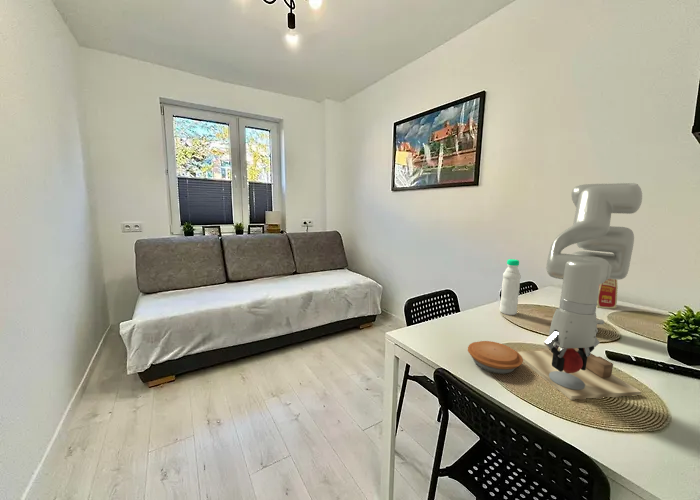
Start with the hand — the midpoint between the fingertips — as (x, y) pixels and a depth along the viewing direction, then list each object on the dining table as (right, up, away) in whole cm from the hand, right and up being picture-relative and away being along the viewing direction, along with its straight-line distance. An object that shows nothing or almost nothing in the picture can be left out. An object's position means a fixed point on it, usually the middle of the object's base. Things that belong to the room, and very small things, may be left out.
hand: (568, 367), depth 79 cm
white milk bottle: (+13, +3, +54) cm, 55 cm away
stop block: (+14, -3, +5) cm, 15 cm away
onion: (0, -2, 0) cm, 2 cm away
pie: (-15, -4, +11) cm, 19 cm away
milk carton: (+66, +5, +65) cm, 92 cm away
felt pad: (0, -4, 0) cm, 4 cm away
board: (+5, -4, +6) cm, 9 cm away
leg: (+11, -3, +8) cm, 14 cm away
